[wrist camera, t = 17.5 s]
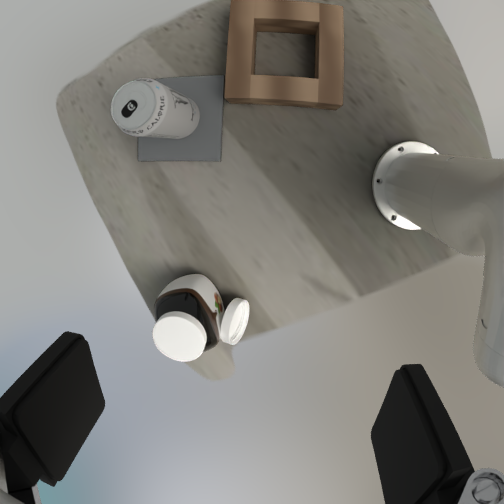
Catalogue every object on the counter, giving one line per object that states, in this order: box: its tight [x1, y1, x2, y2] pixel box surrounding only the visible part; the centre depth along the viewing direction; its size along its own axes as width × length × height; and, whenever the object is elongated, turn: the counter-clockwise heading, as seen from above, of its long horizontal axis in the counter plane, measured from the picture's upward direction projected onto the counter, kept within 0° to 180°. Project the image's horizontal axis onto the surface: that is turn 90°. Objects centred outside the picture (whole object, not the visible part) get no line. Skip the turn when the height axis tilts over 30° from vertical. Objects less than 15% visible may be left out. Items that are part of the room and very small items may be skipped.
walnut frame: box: [224, 0, 344, 110], centre depth 34 cm, size 14×14×5 cm
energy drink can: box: [111, 78, 200, 139], centre depth 33 cm, size 6×6×15 cm
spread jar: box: [152, 274, 249, 362], centre depth 43 cm, size 12×11×12 cm
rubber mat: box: [138, 75, 225, 161], centre depth 40 cm, size 12×12×1 cm
